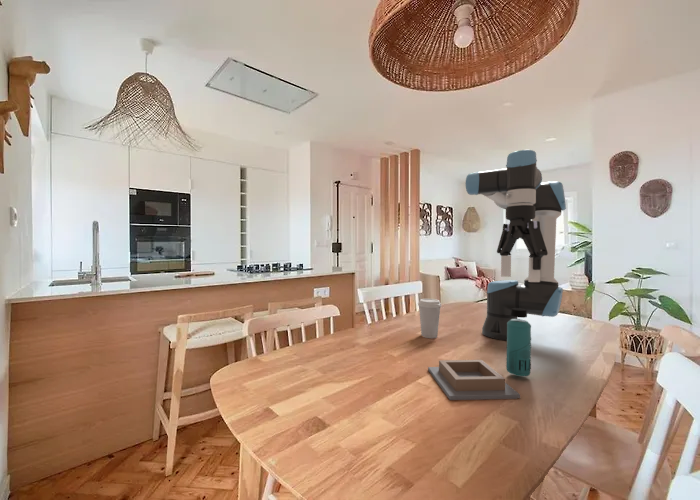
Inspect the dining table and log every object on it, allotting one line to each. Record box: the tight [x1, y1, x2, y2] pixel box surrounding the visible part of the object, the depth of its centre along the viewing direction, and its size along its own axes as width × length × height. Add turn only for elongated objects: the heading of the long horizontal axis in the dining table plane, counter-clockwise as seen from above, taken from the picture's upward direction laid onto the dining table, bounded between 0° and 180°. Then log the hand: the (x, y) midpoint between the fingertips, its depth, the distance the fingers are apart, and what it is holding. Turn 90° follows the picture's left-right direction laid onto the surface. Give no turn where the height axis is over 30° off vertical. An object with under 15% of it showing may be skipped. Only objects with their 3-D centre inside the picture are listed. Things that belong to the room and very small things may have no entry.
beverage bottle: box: [505, 308, 532, 377], centre depth 91 cm, size 6×7×20 cm
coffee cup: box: [417, 298, 442, 339], centre depth 130 cm, size 10×10×15 cm
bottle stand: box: [427, 359, 521, 401], centre depth 87 cm, size 18×18×4 cm
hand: (518, 279), depth 91 cm, fingers open, 13 cm apart
